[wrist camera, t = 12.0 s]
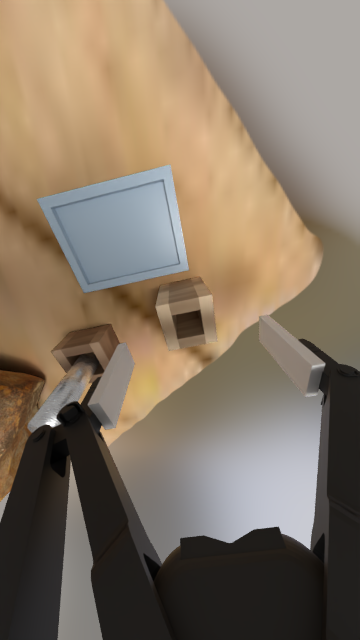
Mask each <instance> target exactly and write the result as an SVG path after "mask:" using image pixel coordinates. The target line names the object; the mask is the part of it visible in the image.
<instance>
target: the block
mask: <svg viewBox="0 0 360 640" xmlns="http://www.w3.org/2000/svg"><path fill="white" fill-rule="evenodd" d="M155 307H156V310H157V314H158V317H159V320H160V324H161V327H162V330H163V333H164V337H165V340H166V343H167V347H168V350H169V351H171V350H176V349H182V348H187V347H192V346H197V345H202V344H207V343H213V342H218V340H217V332H216V323H215V315H214V307H213V298H212V294H211V292H210V291H209V289H208V288H207V286H206V285H205V283H204V282H203V280H202V279H201V277H196V278H191V279H186V280H182V281H177V282H173V283H168V284H163V285H160V288H159V292H158V297H157V301H156V306H155Z"/></svg>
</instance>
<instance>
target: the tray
mask: <svg viewBox="0 0 360 640" xmlns="http://www.w3.org/2000/svg"><path fill="white" fill-rule="evenodd" d="M37 200H38V202H39V204H40V206H41V208H42V210H43V212H44V214H45V216H46V218H47V220H48V222H49V224H50V226H51V228H52V230H53V232H54V234H55V236H56V238H57V240H58V242H59V244H60V246H61V248H62V250H63V252H64V254H65V256H66V258H67V260H68V262H69V264H70V266H71V268H72V270H73V272H74V274H75V276H76V278H77V280H78V282H79V284H80V286H81V288H82V290H83V292H84V293H87V292H92V291H96V290H101V289H105V288H110V287H114V286H119V285H124V284H128V283H133V282H137V281H142V280H146V279H151V278H155V277H160V276H164V275H169V274H173V273H178V272H182V271H187V270H189V267H188V262H187V256H186V250H185V245H184V239H183V233H182V228H181V222H180V216H179V211H178V205H177V199H176V194H175V188H174V183H173V177H172V171H171V166H170V165H167V166H163V167H159V168H155V169H151V170H147V171H143V172H140V173H136V174H132V175H128V176H124V177H120V178H116V179H112V180H109V181H105V182H101V183H97V184H93V185H89V186H85V187H82V188H78V189H74V190H70V191H66V192H62V193H58V194H54V195H51V196H47V197H43V198H39V199H37Z"/></svg>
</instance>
